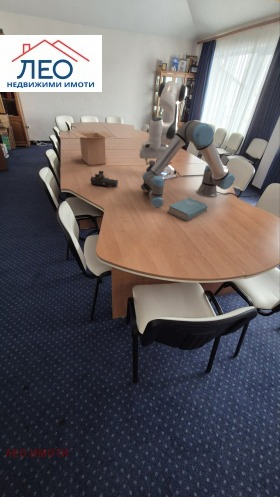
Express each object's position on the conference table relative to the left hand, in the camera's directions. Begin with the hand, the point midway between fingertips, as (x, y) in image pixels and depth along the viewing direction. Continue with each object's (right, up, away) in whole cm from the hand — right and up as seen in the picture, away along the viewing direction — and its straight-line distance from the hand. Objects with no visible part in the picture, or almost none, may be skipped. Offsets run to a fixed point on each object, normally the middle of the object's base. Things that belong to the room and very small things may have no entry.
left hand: (152, 164), depth 163 cm
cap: (0, +2, -1) cm, 2 cm away
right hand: (-2, -10, +13) cm, 16 cm away
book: (+23, -37, -10) cm, 45 cm away
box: (-59, +32, +74) cm, 100 cm away
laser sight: (-39, -10, +20) cm, 45 cm away
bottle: (-2, -18, +13) cm, 22 cm away
